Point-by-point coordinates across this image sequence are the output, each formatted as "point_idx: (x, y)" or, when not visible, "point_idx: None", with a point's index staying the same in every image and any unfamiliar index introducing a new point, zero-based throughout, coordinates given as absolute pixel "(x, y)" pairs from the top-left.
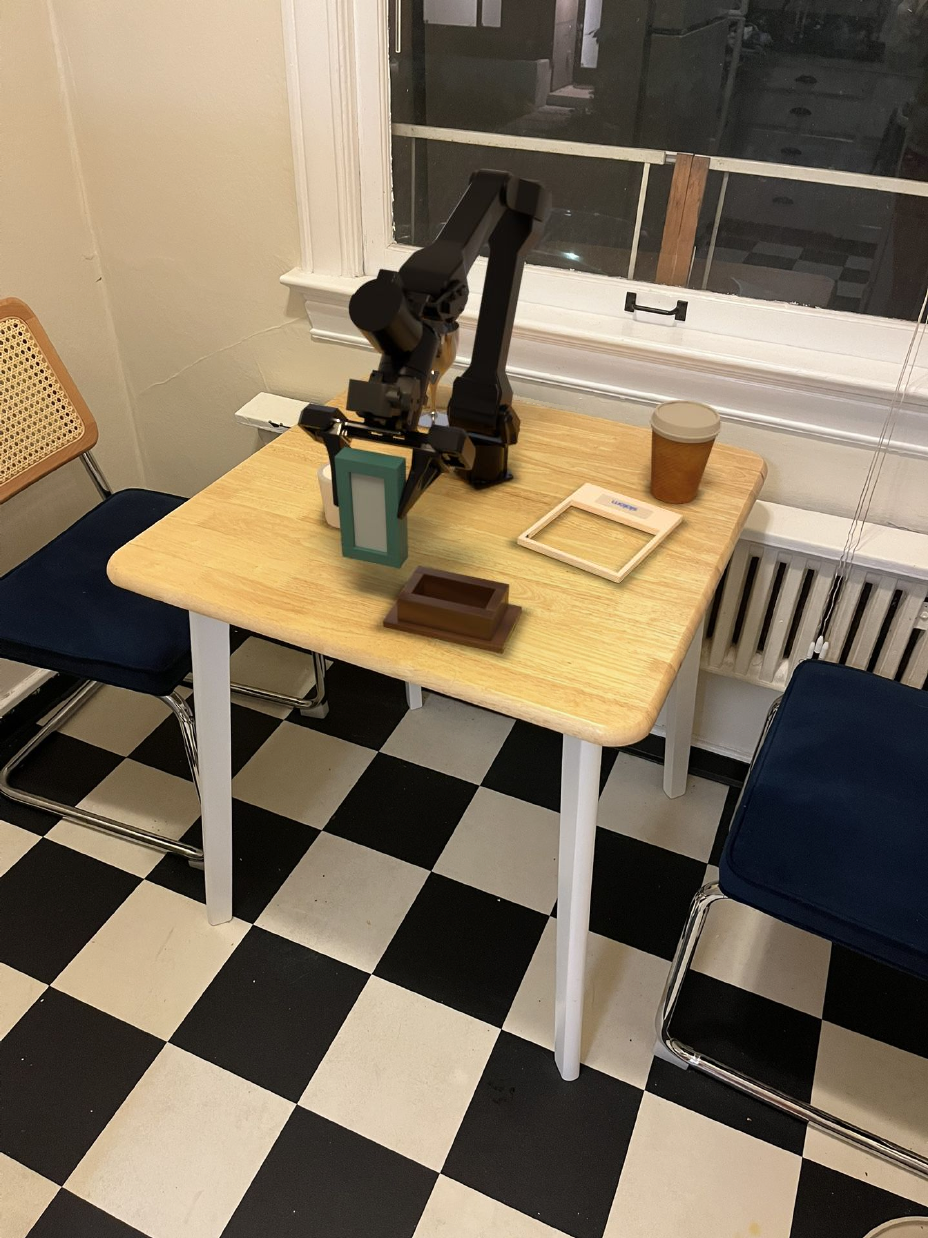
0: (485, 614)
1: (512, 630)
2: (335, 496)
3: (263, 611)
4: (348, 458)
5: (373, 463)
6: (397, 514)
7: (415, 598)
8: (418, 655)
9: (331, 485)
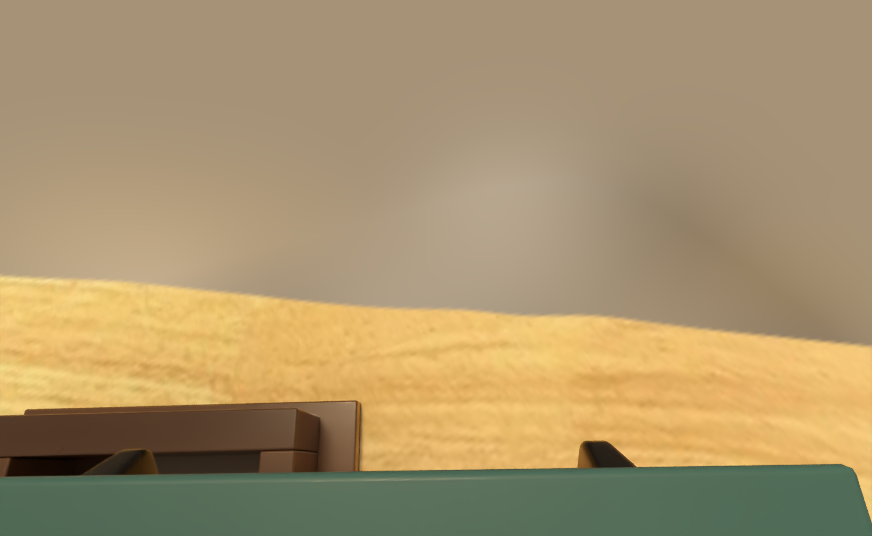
0: (9, 428)
1: None
2: (616, 467)
3: (679, 347)
4: (570, 508)
5: (27, 493)
6: (136, 454)
7: (238, 425)
8: (243, 331)
9: None
